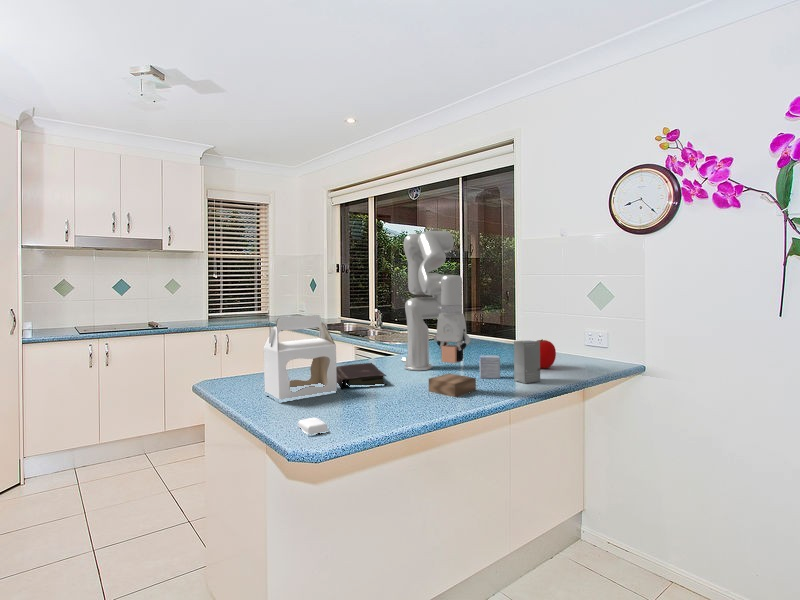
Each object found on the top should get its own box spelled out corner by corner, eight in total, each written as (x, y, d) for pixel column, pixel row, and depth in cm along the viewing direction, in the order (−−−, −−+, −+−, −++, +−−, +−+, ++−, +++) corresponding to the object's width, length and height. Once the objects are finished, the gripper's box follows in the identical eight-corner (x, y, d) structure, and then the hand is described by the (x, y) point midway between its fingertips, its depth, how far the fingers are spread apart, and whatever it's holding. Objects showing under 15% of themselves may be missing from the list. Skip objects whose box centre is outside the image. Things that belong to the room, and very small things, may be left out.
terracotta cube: (441, 361, 172) (441, 346, 172) (449, 359, 176) (449, 344, 176) (454, 363, 169) (454, 347, 169) (462, 361, 173) (462, 345, 173)
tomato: (559, 370, 207) (559, 341, 206) (533, 370, 207) (533, 341, 206) (551, 365, 218) (551, 337, 218) (527, 365, 218) (527, 337, 218)
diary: (340, 391, 178) (339, 378, 178) (330, 378, 202) (330, 366, 202) (388, 386, 183) (388, 373, 183) (373, 374, 207) (373, 362, 207)
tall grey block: (525, 384, 183) (525, 342, 182) (512, 380, 189) (512, 340, 188) (541, 381, 187) (541, 341, 186) (528, 378, 193) (528, 338, 192)
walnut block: (428, 392, 173) (428, 378, 173) (449, 386, 182) (449, 373, 182) (455, 398, 165) (454, 383, 165) (475, 391, 174) (475, 378, 173)
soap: (294, 429, 134) (294, 419, 134) (317, 425, 138) (317, 415, 137) (307, 438, 126) (306, 427, 126) (330, 433, 130) (330, 423, 130)
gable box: (320, 386, 183) (319, 313, 182) (337, 393, 173) (336, 315, 171) (264, 396, 170) (261, 317, 169) (278, 404, 159) (276, 319, 158)
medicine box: (498, 376, 197) (498, 355, 197) (500, 378, 193) (500, 357, 192) (479, 376, 198) (479, 355, 197) (480, 378, 193) (480, 357, 193)
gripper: (425, 309, 174) (426, 359, 175) (467, 311, 164) (468, 364, 165) (436, 308, 180) (437, 356, 181) (478, 309, 170) (478, 360, 171)
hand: (452, 359), depth 173 cm, fingers closed on terracotta cube, 5 cm apart
